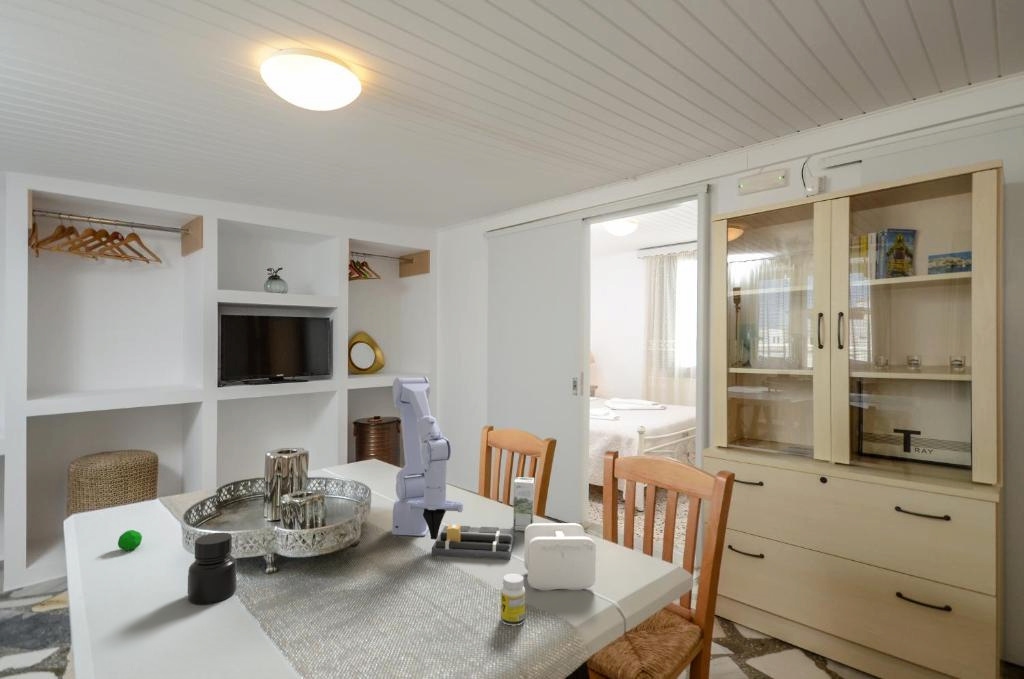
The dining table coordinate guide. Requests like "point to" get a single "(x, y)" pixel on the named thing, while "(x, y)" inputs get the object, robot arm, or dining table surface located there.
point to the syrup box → (523, 503)
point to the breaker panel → (475, 552)
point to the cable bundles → (476, 537)
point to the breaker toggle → (454, 533)
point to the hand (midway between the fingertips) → (434, 538)
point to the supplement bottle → (513, 599)
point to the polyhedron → (129, 540)
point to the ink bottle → (212, 569)
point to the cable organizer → (559, 556)
